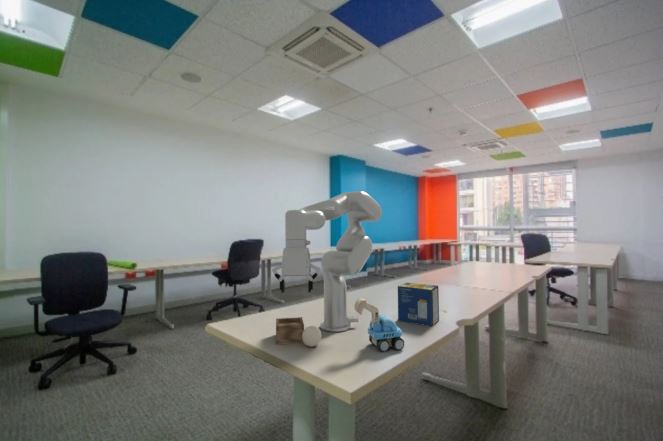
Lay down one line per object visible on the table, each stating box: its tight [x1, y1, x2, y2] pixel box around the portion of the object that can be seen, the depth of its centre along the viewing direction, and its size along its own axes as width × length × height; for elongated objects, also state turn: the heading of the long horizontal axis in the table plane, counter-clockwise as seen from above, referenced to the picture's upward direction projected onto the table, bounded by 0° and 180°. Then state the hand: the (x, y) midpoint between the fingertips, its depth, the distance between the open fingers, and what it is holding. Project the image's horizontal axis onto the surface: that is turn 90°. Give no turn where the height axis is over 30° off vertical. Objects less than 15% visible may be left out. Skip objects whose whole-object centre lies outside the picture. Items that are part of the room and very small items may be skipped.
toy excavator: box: [354, 297, 405, 353], centre depth 106 cm, size 9×17×17 cm, turn 106°
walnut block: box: [275, 316, 305, 345], centre depth 115 cm, size 10×10×6 cm
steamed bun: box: [302, 325, 322, 347], centre depth 108 cm, size 7×7×7 cm
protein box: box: [397, 282, 440, 327], centre depth 137 cm, size 10×15×16 cm
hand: (296, 291), depth 110 cm, fingers open, 9 cm apart
